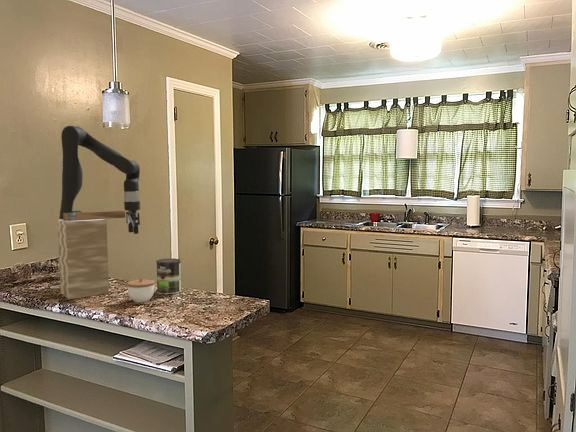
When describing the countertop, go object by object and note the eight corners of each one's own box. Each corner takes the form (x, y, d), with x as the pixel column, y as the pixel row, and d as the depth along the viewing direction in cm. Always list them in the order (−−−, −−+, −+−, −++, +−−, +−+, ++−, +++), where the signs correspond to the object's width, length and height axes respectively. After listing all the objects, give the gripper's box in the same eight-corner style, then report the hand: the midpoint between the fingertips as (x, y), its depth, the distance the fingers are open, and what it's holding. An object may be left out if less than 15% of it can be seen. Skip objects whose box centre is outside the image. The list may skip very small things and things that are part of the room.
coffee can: (173, 295, 198) (172, 263, 197) (152, 294, 201) (151, 261, 200) (185, 290, 208) (185, 258, 207) (165, 288, 211) (164, 257, 210)
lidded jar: (138, 296, 197) (138, 274, 197) (160, 298, 194) (159, 276, 193) (121, 302, 187) (121, 279, 187) (144, 305, 184) (143, 281, 183)
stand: (60, 292, 204) (57, 219, 201) (98, 287, 214) (96, 217, 211) (69, 299, 193) (66, 221, 190) (108, 293, 203) (106, 219, 200)
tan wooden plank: (62, 220, 198) (62, 213, 198) (121, 217, 214) (121, 210, 214) (66, 221, 194) (65, 213, 194) (125, 217, 210) (125, 211, 210)
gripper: (120, 200, 236) (121, 232, 238) (128, 201, 225) (130, 234, 226) (135, 200, 241) (136, 231, 242) (143, 200, 229) (145, 233, 230)
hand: (133, 233), depth 234 cm, fingers open, 8 cm apart
